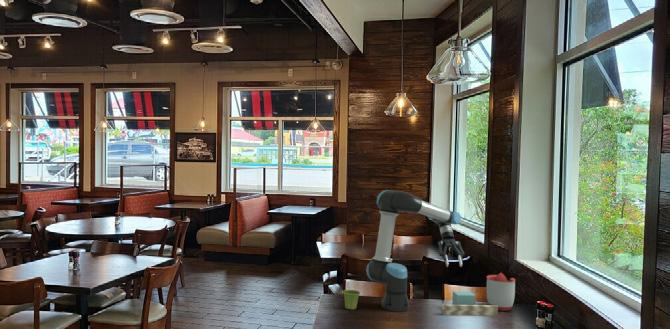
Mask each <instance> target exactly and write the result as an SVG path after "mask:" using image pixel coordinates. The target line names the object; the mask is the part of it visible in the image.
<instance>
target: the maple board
mask: <svg viewBox="0 0 670 329" xmlns="http://www.w3.org/2000/svg"><path fill="white" fill-rule="evenodd" d="M498 312H499V310H498V306H497V305H489V304H488V305H487V304H483V305H482V304H475V305H452V304H441V312H440V313H441V315H443V316H471V317H472V316H479V317H480V316H482V317H483V316H485V317H486V316H487V317H488V316H489V317H498V316H499V315H498V314H499V313H498Z"/></svg>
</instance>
